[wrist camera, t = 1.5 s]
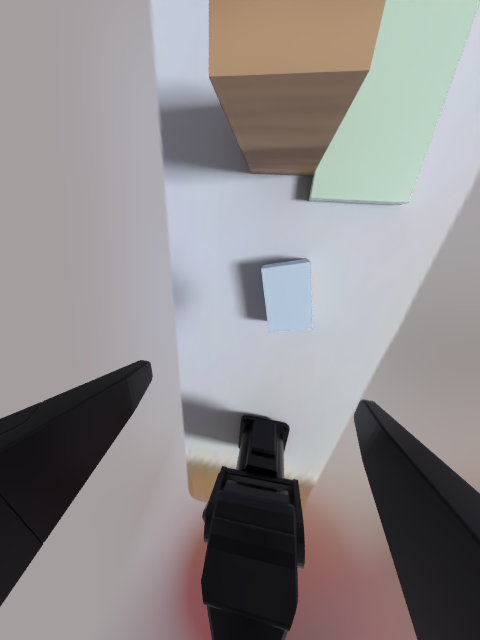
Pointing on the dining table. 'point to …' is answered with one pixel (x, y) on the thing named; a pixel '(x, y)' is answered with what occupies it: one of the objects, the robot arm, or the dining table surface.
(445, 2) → the base plate
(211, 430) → the dining table surface
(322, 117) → the tower block
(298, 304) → the brick
